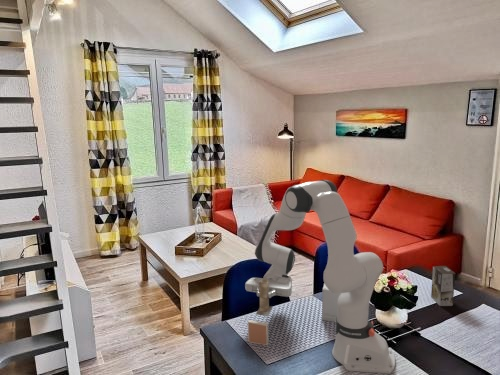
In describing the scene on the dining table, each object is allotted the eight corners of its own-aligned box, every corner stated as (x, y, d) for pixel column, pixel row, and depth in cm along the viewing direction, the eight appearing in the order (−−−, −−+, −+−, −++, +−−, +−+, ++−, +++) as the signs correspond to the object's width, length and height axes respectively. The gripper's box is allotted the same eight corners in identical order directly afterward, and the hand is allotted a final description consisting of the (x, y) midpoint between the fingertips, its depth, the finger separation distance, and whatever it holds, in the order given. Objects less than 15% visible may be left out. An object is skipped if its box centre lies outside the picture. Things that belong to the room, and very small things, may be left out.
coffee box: (453, 306, 175) (456, 273, 171) (439, 306, 175) (441, 273, 171) (443, 296, 184) (446, 265, 180) (430, 296, 184) (432, 265, 180)
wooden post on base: (272, 307, 161) (272, 278, 158) (267, 316, 154) (267, 285, 152) (261, 306, 162) (260, 276, 160) (256, 314, 156) (255, 283, 153)
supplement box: (342, 323, 163) (343, 291, 160) (321, 320, 166) (321, 289, 163) (344, 312, 172) (345, 282, 169) (324, 310, 175) (324, 280, 172)
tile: (268, 343, 151) (268, 323, 149) (267, 345, 150) (266, 325, 148) (249, 339, 154) (249, 319, 152) (248, 342, 152) (247, 321, 151)
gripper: (250, 271, 172) (239, 285, 159) (294, 277, 165) (287, 291, 152) (251, 284, 173) (240, 299, 160) (294, 290, 166) (287, 306, 153)
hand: (263, 295), depth 156 cm, fingers closed on wooden post on base, 3 cm apart
